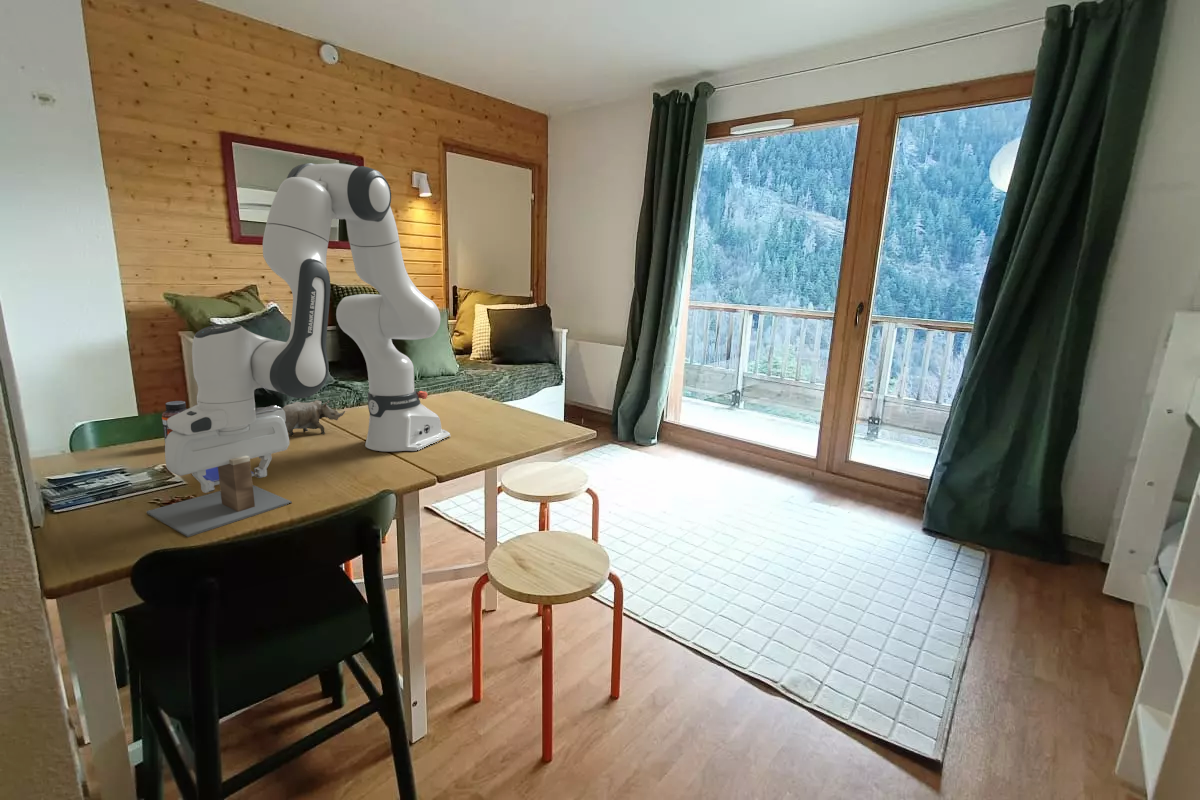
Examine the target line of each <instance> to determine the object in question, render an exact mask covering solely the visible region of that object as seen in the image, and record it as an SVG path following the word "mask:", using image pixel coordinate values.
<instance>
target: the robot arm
mask: <svg viewBox="0 0 1200 800" xmlns="http://www.w3.org/2000/svg"><path fill="white" fill-rule="evenodd" d="M391 205H392V191H391V187H390V185H389V182H388V181H387V179H386V178H385V176H384V175H383V174H382V172H380V171H379V170H377V169H375V168H371V167H368V166H364V165H361V166H359V165H352V164H346V163H339V162H333V163H318V164H317V163H311V162H308V163H302V164H299V165H296V166H294V167H293V168H292V169H291V170H290V171H289V173H288V174H287V177H286V178H285V179H283V181H282V182H281V183H280V185H279V187H278V189H277V191H276V193H275V195H274V198H273V201H272V203H271V206H270V209H269V211H268V215H267V219H266V224H265V228H264V233H263V238H262V256H263V259H264V261H265V263H266V264H267V266H268V268H270V270H271V271H272V272H273V273H275V275H277V276H279V277H280V278H281V279H282V280H284V282H285V283H286V284H287V285H288V287H289V289H290V291H291V294H292V309H291V320H290V330H289V337H288V339H287V340H286V341H281V340H276V339H272V338H269V337H265V336H261V335H259V334H256V333H253V332H252V331H250V330H247V329H246V328H245V327H243V326H242V325H240V324H236V323H224V324H223V323H222V324H214V325H210V326H207V327H204V328H201V329H200V330H198V331H196V333H195V334H194V336H193V339H192V347H191V356H192V369H193V370H192V371H193V377H194V379H195V382H196V384H197V393H196V394H197V395H196V403H197V404H195V405H194V406H191V407H189V408H186V409H187V410H185V411H183V412H181V413H178V414H176V415H174V416H172V417H170V418H168V420H167V425H168V427H169V428H170V429H171V430H173V431H172V432H170V433H169V434H168V436H167V438H166V442H165V441H164V456H165V457H164V458H165V460H164V461H165V465H166V468H167V470H168V471H169V472H171V473H172V474H174V475H176V476H179V477H180V476H186V475H189V474H191V475H192V476H193V478H195V479H196V481H198V483H200V490H201V491H202V492H203V493H204V494H207V493H208V494H209V493H212V492H215V488H216V487H215V485H214V482H212V481H210V480H206V479H205V478H204V477H203V476H205V475H206V470H207V469H211V468H215V467H219V466H223V465H227V464H229V460H230V459H234V458H239V457H243V456H249V457H250V460H251V459H255V458H259V459H260V462H259V464H258V466H257V467H254V468H253V469H254V470H253V472H254V477H255V478H258V479H261V478H265V477H267V476H268V470H267V469H268V467H269V465H270V463H271V461H272V459H273V458H272V455H273V454H277V453H280V452H284V451H287V449H288V448H289V446H290V437H289V433H288V432H287V428H286V425H285V421H286V418H285V411H284V410H283V409H282V408H283V407H281V406H277V405H275V404H273V405H270V406H269V405H268V406H266V407H256V402H255V391H256V389H266V390H269V391H274V392H278V393H280V394H283V395H286V396H289V397H291V398H294V399H305V398H309V397H311V396H314V395H315V394H317V393H318V392H319V391H320V390H322V387H324V385H325V383H326V381H327V379H328V376H329V371H330V370H329V369H330V367H329V365H330V364H329V358H328V353H327V334H328V327H329V326H328V325H329V324H328V323H329V313H330V312H329V311H330V303H331V301H330V298H331V278H330V273H329V270H328V268H327V267H328V266H327V253H328V247H329V243H330V242H329V241H330V236H331V230H332V220H333V219H334V220H345V223H346V231H347V236H348V242H349V247H350V251H351V257H352V261H353V266H354V271H355V273H356V274H357V276H358V278H359V279H361V280H362V281H363V282H365V283H366V284H368V285H370V286H371V287H373V288H374V289H375V290H376V291H377V292H378V294H374V293H361V294H359V293H358V294H353V295H348V296H345V297H343V298H342V299H341V300H340V301H339V303H338V304H337V306H336V313H335V316H336V322H337V323H338V326H339V328H340V329H341V330H342V332H343V333H345V334H346V335H347V336H349V338H351V339H352V340H353V341H354V342H355V343H356V345H357V346H358V348H359V349H360V352H361V353H362V355H363V358H364V360H365V363H366V370H367V377H368V380H367V381H368V392H367V407H368V412H369V419H368V420H369V422H368V431H367V436H366V441H365V444H364V446H365V448H367V449H369V450H372V451H377V452H378V451H379V452H402V451H407V452H417V450H418V451H420V449H421V450H423V449H425V448H424V447H426V446H428V445H430V444H433V443H435V442H437V441H439V440H442V439H444V438H446V437H448V436H450V437H451V433H450V432H449V431H448V430H446V429H443V428H442V422H441V418H440V416H438V413H435V412H434V411H432V410H431V409H430V408H428V407H426V406H425V405H424V404H423V403H421V401H420V399H422V400H426V399H427V398H428V396H429V395H428V393H427V391H422V390H420V391H417V390H415V373H414V372H415V368H414V363H413V361H412V360H411V358H410V357H408V355H406V354H404V353H402V352H401V351H399V350H398V348H396V346H395V345H394V344H393V340H406V341H407V340H408V341H415V340H422V339H428V338H429V339H430V338H433V337H434V335H436V333H437V332H438V330H439V328H440V326H441V321H442V320H441V312H440V310H439V307H438V306H437V304H436V303H435V301H433V300H432V299H430V298H429V297H427V296H425V294H423V293H422V291H420V290H419V289H418V287H417V286H416V285H415V283H413V281H412V279H411V278H410V276H409V273H408V272H407V269H406V267H405V266H406V265H405V261H404V257H403V253H402V249H401V242H400V236H399V232H398V227H397V223H396V219H395V216H394V213H393V210H392V207H391ZM444 440H445V439H444ZM442 441H443V440H442ZM437 443H438V442H437ZM435 444H436V443H435ZM433 445H434V444H433ZM430 446H431V445H430ZM428 447H429V446H428ZM422 448H423V449H422ZM426 448H427V447H426ZM202 475H203V476H202Z"/></svg>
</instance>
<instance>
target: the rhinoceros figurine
mask: <svg viewBox="0 0 1200 800" xmlns="http://www.w3.org/2000/svg"><path fill="white" fill-rule="evenodd" d="M329 403H330V400H327V402H325V403H323V404H322V400H317V399H316V400H314V401H310V402H302V401H301V402H300V401H295V402H293V403H289V404H285V405H284V406H283V407H281V408H282V409H283V410H284V411H285V418H286V421H285V425H286V428H287V432H288V436H292V435H293V436H295V432H294V430H295V429H297V430H299V429H300V430H301V429H302V431H303V433H304V432H305V431H308V432H309V430H310V429H311V430H317V429H320V431H321V432H320V433H321V435H324V434H325V433H326V432H325V427H324V426H323V425H322V423H320V420H321V419H322V418H326V419H328V420H331V421H332V420H335V421H338V420H339V419H340V417H342V416H344V414H345V413H346V410H344V411H343V412H339V411H338V410H337V409H332V408H331V407H330V406H329V405H328V404H329ZM305 433H306V432H305Z"/></svg>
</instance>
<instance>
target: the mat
mask: <svg viewBox="0 0 1200 800" xmlns="http://www.w3.org/2000/svg"><path fill="white" fill-rule="evenodd" d="M253 493H254V503H255V507H252V508H249V509H246V510H243V511H239V512H238V511H235V510H233V509H231V508H229V507H227V506H225V505H223V504H222V500H221V491H220V490H217V491H213V492H209V493H208V494H207V493H206V494H203V495H200V496H197V497H193V498H189V499H186V500H183V501H178V502H175V503H172V504H167V505H165V506H161V507H157V508H152V509H149V510H146V514H147V515H149V516H150V517H152V518H155V519H156V520H157V521H160V522H161V523H163V524H165V525H166V526H168V527H169V528H171V529H173V530H175V531H176V532H178V533H179V534H182V535H184V536H185V537H186V538H191V537H192V536H195V535H198V534H201V533H205V532H208V531H210V530H211V531H212V530H214V529H217V528H220V527H223V526H226V525H229V524H233V523H235V522H239V521H241V520H244V519H247V518H252V517H254V516H256V515H259V514H263V513H267V512H270V511H273V510H275V509H278V507H279V508H281V506H282V507H285V506H288V505H290V504H289V503H291V504H292V500H289V499H287V498H284V497H282V496H280V495H277V494H276V493H272V492H270V491H268V490H267V489H266V490H265V489H263V488H260V487H259V486H257V485H254V484H253ZM287 504H288V505H287ZM284 505H285V506H284Z"/></svg>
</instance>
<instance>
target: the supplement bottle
mask: <svg viewBox="0 0 1200 800" xmlns="http://www.w3.org/2000/svg"><path fill="white" fill-rule="evenodd" d="M186 407H187V405H186V401H183V400H175V401H174V400H173V401H168V402H165V411H163V412H162V414H161V420H162V421H161V422H162V429H163V435H164V436H163V437H164V443H165V442H166V438H167V436H168V434H169V433H170V432H172V431H173V430H171V429H170V428H169V427H168V425H167V420H168V418H170V417H172V416H174V415H176V414H178V413H181V412H183V411H185V410H187V409H188V408H186Z"/></svg>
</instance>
